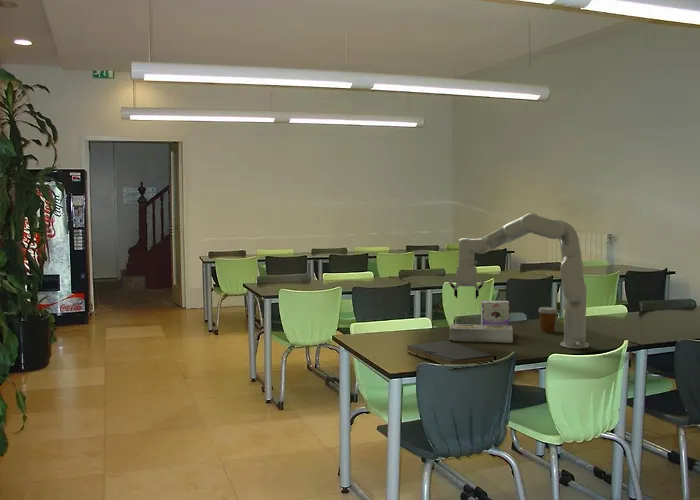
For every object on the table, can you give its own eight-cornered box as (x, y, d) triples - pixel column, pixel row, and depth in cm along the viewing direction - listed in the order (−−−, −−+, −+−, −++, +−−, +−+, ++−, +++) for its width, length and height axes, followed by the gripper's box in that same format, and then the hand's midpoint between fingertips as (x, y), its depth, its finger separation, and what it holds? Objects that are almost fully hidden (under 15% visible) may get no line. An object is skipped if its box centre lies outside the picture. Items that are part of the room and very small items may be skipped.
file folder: (406, 344, 303) (450, 339, 314) (406, 353, 303) (450, 348, 314) (450, 360, 274) (496, 354, 285) (449, 370, 274) (496, 363, 285)
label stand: (511, 337, 332) (511, 324, 332) (512, 342, 321) (512, 329, 320) (450, 335, 338) (450, 323, 338) (449, 340, 326) (449, 327, 326)
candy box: (507, 331, 346) (507, 300, 345) (509, 334, 340) (509, 302, 339) (480, 331, 347) (480, 300, 346) (482, 334, 341) (482, 302, 340)
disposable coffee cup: (554, 333, 340) (554, 310, 339) (535, 331, 345) (536, 308, 344) (559, 330, 348) (559, 307, 347) (540, 328, 353) (541, 306, 352)
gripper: (484, 262, 330) (484, 297, 331) (449, 262, 333) (449, 296, 334) (484, 264, 322) (484, 299, 324) (448, 263, 326) (448, 298, 327)
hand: (466, 297), depth 329 cm, fingers open, 9 cm apart
